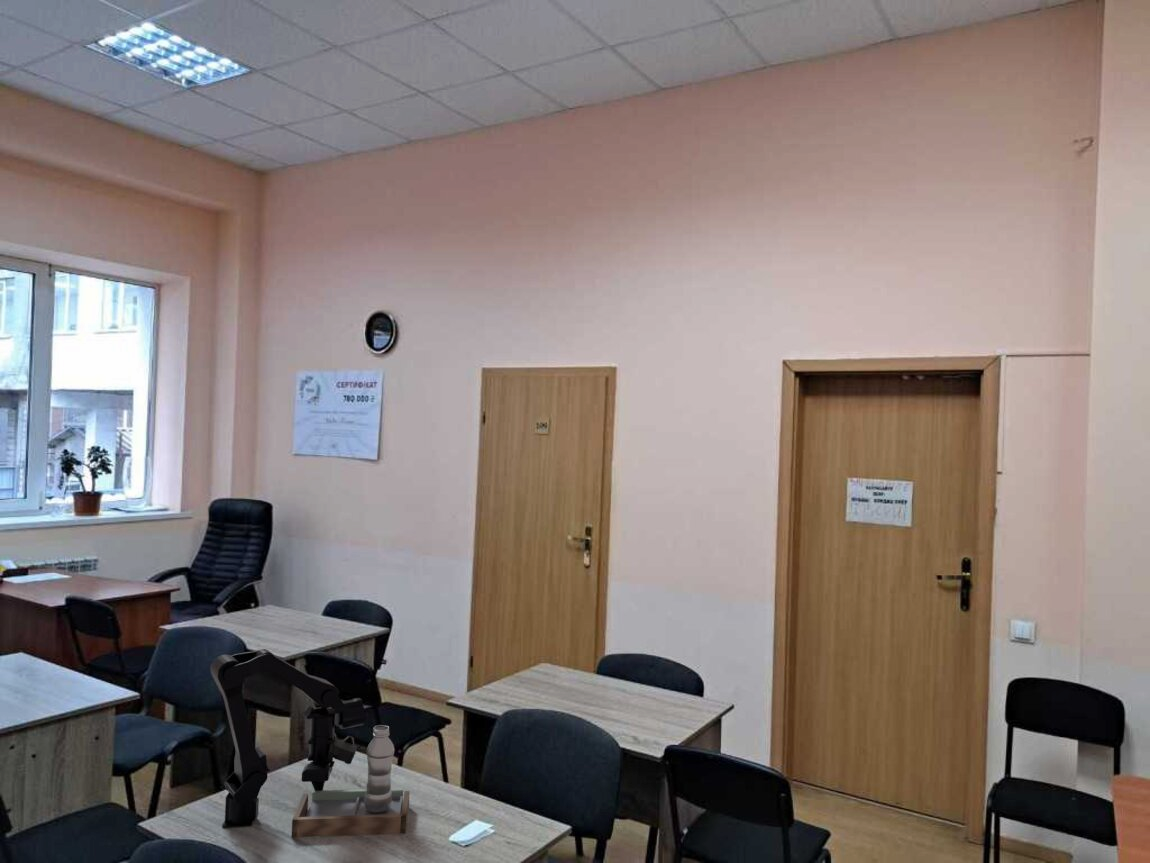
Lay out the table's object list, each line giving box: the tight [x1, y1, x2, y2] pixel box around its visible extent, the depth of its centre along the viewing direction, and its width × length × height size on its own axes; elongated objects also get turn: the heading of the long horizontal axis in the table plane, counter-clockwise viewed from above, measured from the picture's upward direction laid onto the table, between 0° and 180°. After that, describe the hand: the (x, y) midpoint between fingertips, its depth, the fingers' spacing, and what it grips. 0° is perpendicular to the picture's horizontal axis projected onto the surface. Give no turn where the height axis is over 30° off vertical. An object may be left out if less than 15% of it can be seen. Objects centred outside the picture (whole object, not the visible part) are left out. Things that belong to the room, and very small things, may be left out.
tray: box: [305, 788, 404, 817], centre depth 194 cm, size 22×13×3 cm, turn 98°
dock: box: [291, 790, 410, 838], centre depth 190 cm, size 25×13×4 cm, turn 98°
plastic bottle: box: [364, 724, 395, 813], centre depth 194 cm, size 6×7×20 cm
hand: (319, 794), depth 200 cm, fingers closed
